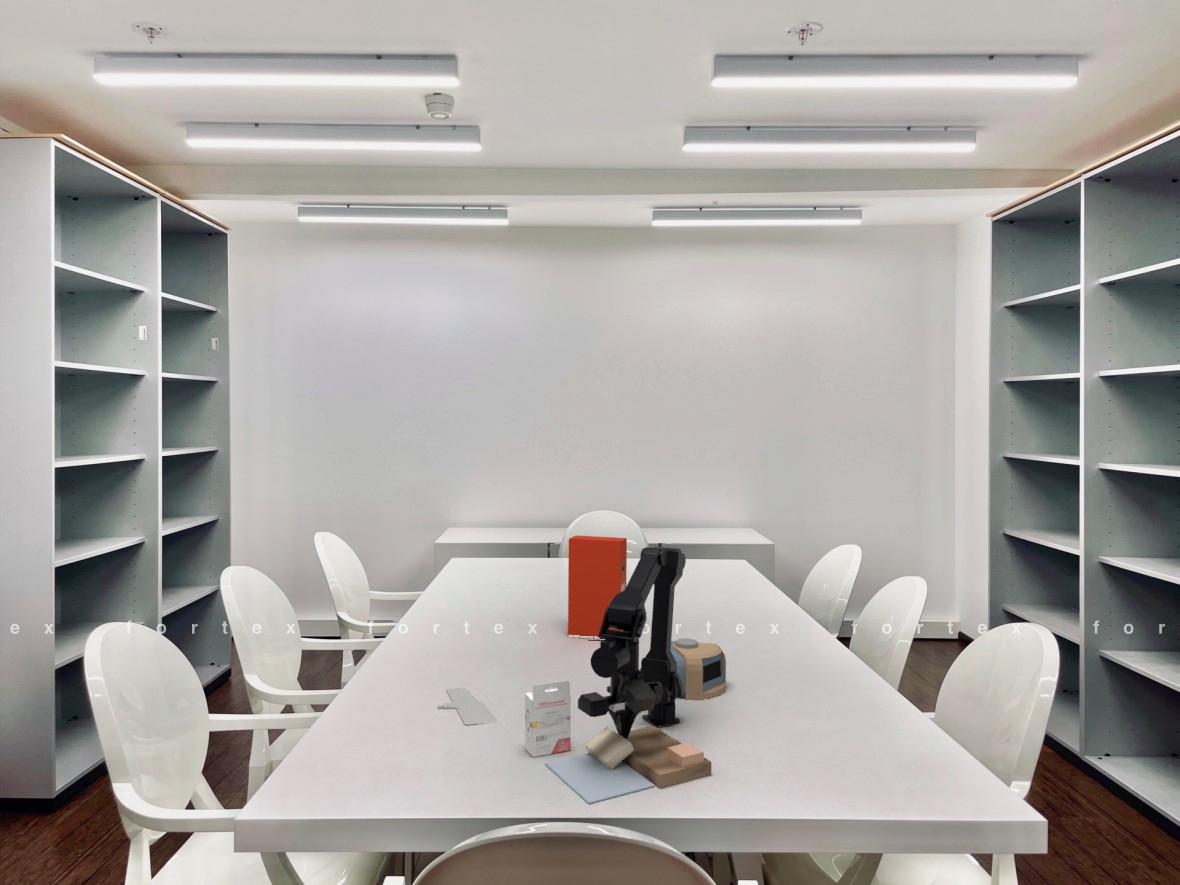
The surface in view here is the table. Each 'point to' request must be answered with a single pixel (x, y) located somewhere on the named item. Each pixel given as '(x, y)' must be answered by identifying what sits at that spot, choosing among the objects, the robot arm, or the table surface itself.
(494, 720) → the grey flat piece
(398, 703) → the table surface
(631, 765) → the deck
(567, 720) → the ink cartridge box
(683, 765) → the terracotta tile
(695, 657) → the alarm clock
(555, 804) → the table surface
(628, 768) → the mat
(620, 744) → the birch tile
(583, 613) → the file binder
